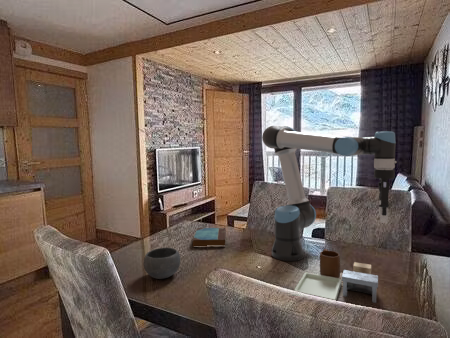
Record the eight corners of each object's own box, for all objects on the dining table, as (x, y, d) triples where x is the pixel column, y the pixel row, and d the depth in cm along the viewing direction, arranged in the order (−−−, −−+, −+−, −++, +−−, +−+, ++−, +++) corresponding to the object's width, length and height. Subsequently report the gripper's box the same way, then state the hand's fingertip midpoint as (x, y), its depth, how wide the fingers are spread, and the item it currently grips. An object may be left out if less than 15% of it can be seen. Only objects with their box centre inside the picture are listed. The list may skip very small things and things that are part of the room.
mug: (315, 267, 122) (315, 246, 122) (333, 268, 122) (333, 246, 121) (322, 280, 110) (322, 257, 110) (342, 281, 110) (342, 257, 109)
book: (225, 248, 151) (225, 239, 151) (192, 249, 151) (192, 240, 151) (225, 235, 174) (225, 227, 173) (197, 236, 174) (197, 228, 174)
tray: (293, 296, 99) (293, 290, 99) (305, 276, 114) (305, 272, 114) (335, 305, 93) (335, 299, 93) (341, 283, 107) (341, 278, 107)
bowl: (163, 287, 108) (162, 262, 108) (137, 279, 116) (135, 255, 116) (188, 272, 121) (187, 249, 120) (162, 265, 129) (161, 244, 128)
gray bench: (341, 295, 99) (341, 276, 98) (344, 285, 106) (344, 267, 106) (377, 303, 93) (377, 282, 93) (378, 291, 101) (378, 272, 100)
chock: (353, 280, 110) (353, 265, 109) (354, 276, 113) (354, 262, 113) (370, 284, 107) (370, 268, 106) (371, 279, 110) (371, 264, 110)
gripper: (397, 171, 105) (395, 227, 107) (392, 166, 127) (391, 213, 129) (374, 171, 109) (373, 225, 110) (373, 166, 131) (372, 211, 132)
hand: (383, 219), depth 120 cm, fingers open, 13 cm apart
